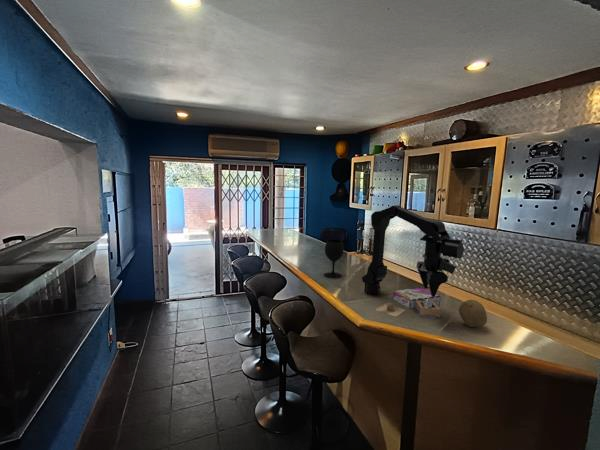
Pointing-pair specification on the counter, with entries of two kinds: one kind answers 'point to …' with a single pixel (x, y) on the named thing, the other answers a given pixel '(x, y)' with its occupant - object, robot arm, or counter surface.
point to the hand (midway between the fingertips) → (429, 292)
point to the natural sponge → (473, 313)
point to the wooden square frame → (427, 309)
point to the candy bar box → (414, 296)
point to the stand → (390, 309)
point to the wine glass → (333, 255)
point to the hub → (426, 304)
